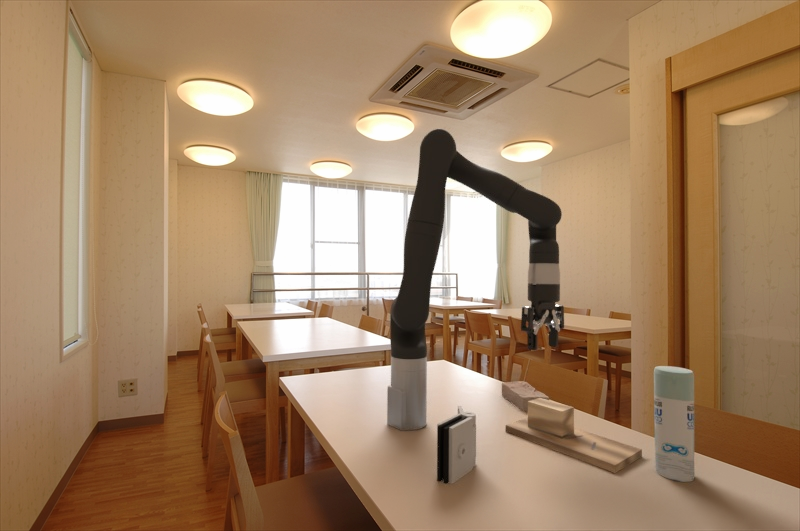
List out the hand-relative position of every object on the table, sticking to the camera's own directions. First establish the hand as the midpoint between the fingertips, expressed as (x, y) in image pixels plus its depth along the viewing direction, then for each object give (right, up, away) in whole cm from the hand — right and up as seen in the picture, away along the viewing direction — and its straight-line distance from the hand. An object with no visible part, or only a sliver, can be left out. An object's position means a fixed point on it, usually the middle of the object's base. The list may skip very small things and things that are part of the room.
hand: (543, 348), depth 100 cm
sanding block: (0, -19, -4) cm, 19 cm away
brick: (+2, -21, +22) cm, 31 cm away
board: (+3, -20, -8) cm, 22 cm away
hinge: (-24, -20, -20) cm, 37 cm away
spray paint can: (+18, -20, -22) cm, 34 cm away
